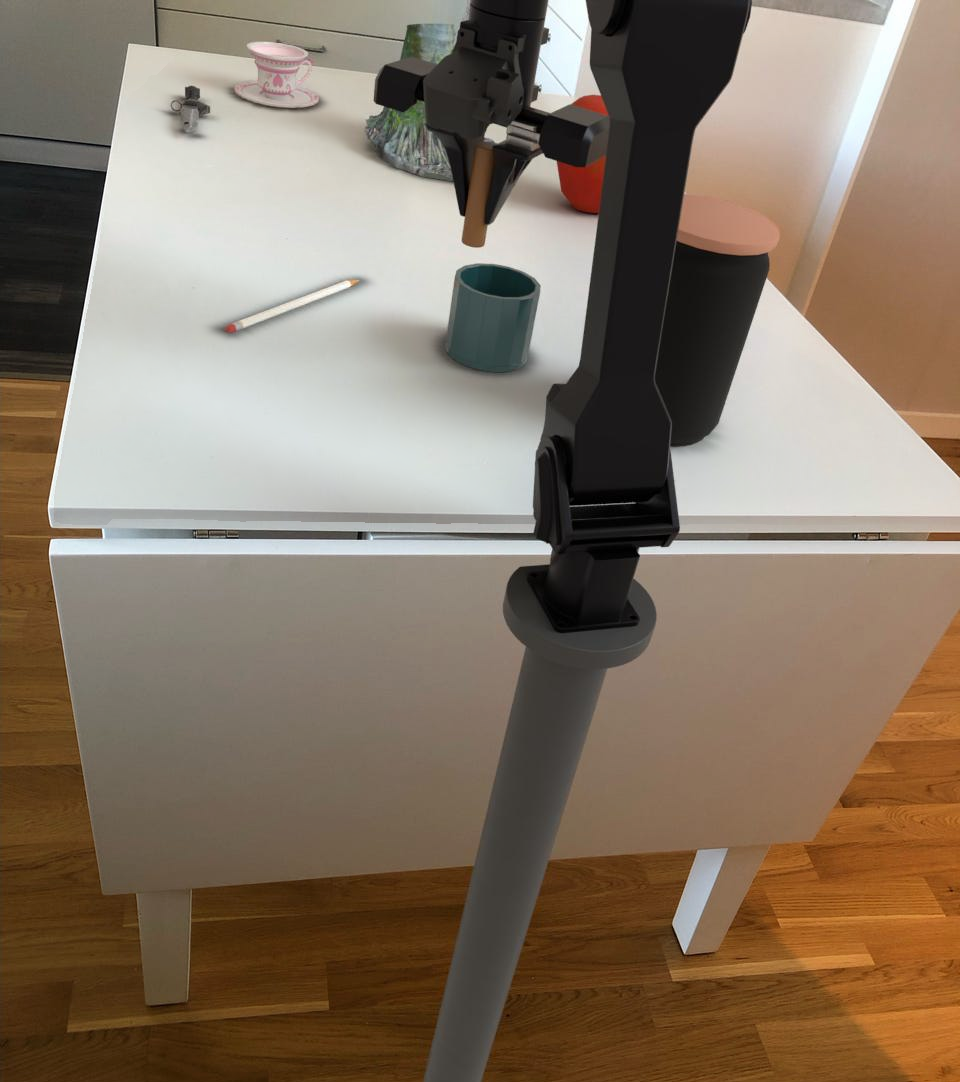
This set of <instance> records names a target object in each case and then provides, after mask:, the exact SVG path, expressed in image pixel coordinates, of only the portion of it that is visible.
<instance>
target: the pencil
mask: <svg viewBox="0 0 960 1082" xmlns="http://www.w3.org/2000/svg"><path fill="white" fill-rule="evenodd" d="M359 281H360V280H359V279H347V280H344V281H342V282H339V283H336V284H334V285H330V286H328V287H325V288H322V289H320V290H317V291H314V292H312V293H309V294H307V295H304V296H302V297H299V298H295V299H293V300H290V301H288V302H286V303H282V304H280V305H277V306H274V307H272V308H270V309H267V310H264V311H261V312H259V313H256V314H254V315H251V316H249V317H245V318H243V319H240V320H237V321H235V322H233V323H230V324H227V325H226V326H225V328H224V330H225V331H226V332H227V333H229V334H233V333H234V332H237V331H240V330H242V329H246V328H248V327H250V326H252V325H255V324H258V323H260V322H263V321H266V320H268V319H269V320H270V319H271V318H273V317H276V316H279V315H281V314H284V313H287V312H289V311H292V310H294V309H297V308H300V307H302V306H305V305H308V304H310V303H312V302H315V301H318V300H320V299H323V298H326V297H328V296H331V295H334V294H336V293H338V292H341V291H344V290H347V289H350V288H351V287H353V286H354V285H356V284H357V283H358V282H359Z"/></svg>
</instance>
